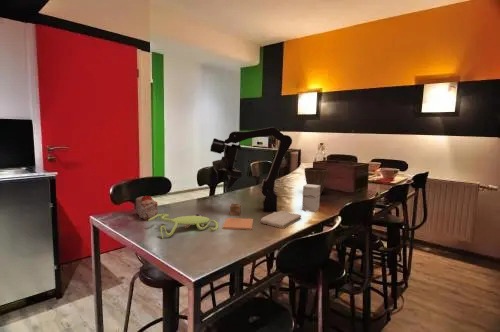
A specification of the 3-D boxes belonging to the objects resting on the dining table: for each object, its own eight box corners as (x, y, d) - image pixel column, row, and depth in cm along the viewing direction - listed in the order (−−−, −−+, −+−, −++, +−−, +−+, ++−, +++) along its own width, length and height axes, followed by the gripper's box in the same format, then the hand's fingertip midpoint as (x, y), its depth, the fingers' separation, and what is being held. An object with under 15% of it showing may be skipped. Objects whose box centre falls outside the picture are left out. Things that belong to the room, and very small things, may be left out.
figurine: (147, 226, 125) (147, 213, 125) (207, 218, 137) (207, 206, 136) (154, 241, 109) (153, 227, 108) (221, 231, 121) (221, 217, 120)
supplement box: (301, 209, 152) (302, 185, 150) (305, 206, 158) (306, 183, 156) (315, 212, 148) (316, 187, 146) (319, 208, 155) (320, 184, 153)
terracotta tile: (253, 220, 133) (253, 218, 133) (251, 229, 121) (251, 228, 121) (226, 219, 134) (226, 218, 134) (222, 228, 122) (222, 227, 122)
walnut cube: (240, 213, 145) (240, 204, 144) (239, 215, 140) (239, 206, 140) (231, 212, 145) (231, 203, 144) (230, 215, 140) (230, 206, 140)
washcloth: (302, 219, 137) (302, 213, 137) (283, 230, 123) (283, 223, 122) (280, 214, 144) (280, 208, 144) (259, 224, 130) (260, 217, 129)
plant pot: (299, 191, 194) (300, 167, 192) (319, 190, 198) (320, 167, 196) (310, 196, 180) (311, 171, 178) (331, 195, 184) (333, 170, 182)
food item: (160, 218, 135) (159, 197, 133) (143, 222, 130) (142, 200, 128) (149, 211, 145) (148, 192, 144) (132, 214, 140) (132, 194, 139)
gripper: (207, 150, 148) (200, 179, 150) (227, 158, 134) (220, 191, 136) (225, 152, 155) (218, 181, 157) (246, 161, 141) (238, 192, 144)
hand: (223, 185), depth 148 cm, fingers open, 9 cm apart
